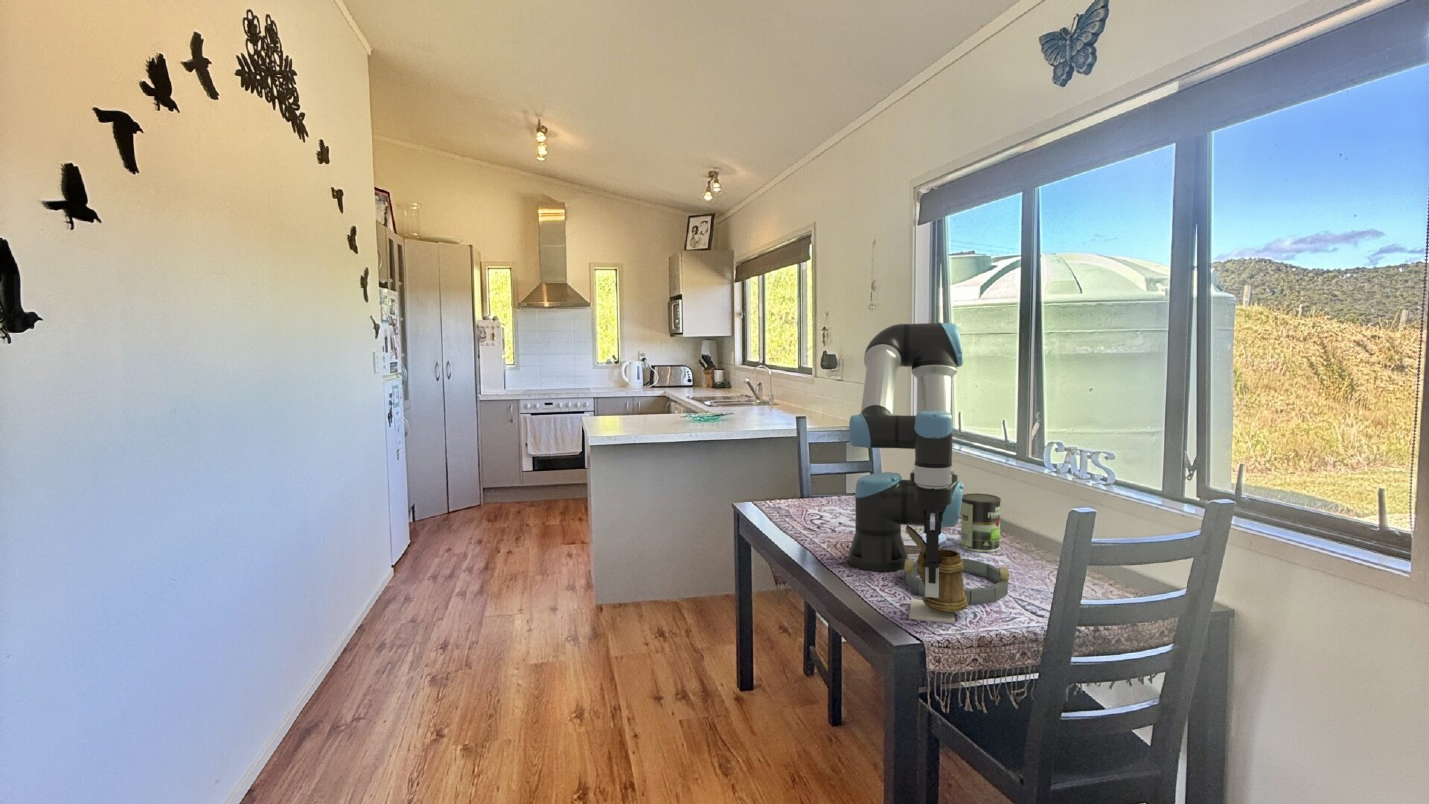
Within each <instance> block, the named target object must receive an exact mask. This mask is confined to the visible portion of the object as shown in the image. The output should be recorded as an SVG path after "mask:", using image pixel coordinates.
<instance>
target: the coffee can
mask: <svg viewBox="0 0 1429 804" xmlns="http://www.w3.org/2000/svg"><path fill="white" fill-rule="evenodd" d="M1001 501H1002V498H1001V497H1000V496H997V495H993V494H989V493H976V492H975V493H966V494H963V496H962V503H961V510H960V516H961V517H960V547H961V548H963V549H964V550H967V551H971V552H975V553H993V552H998V551H999V550H1000V549H1001V548H1000V546H1001V545H1000V544H1001V543H1000V533H1001V532H1000V531H1001Z"/></svg>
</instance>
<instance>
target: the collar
mask: <svg viewBox="0 0 1429 804" xmlns="http://www.w3.org/2000/svg"><path fill="white" fill-rule="evenodd" d="M961 560H962V563H963V569H962V573H964V572H965V573H969V574H972V575H977V576H980V577H984V578H987V579H988V580H990V581H992V582H994V584H993V585H991V586H984V587H977V588H964V592H965V596H966V599H967V604H968V605H977V603H979V604H985V603H986V604H987V603H994V602H995V601H996V602H997V601H998V600H1001V599H1003V598H1005V596H1007V595H1009V594H1008V593H1009V581H1010V573H1009V569H1008V567H1007V566H998V568H997V567H996V566H994V565H993V564H990V563H987V562H982V561H979V560H973V559H970V558H964V557H961ZM904 572H905V586H906V587H908V589H910V590H912V591H913V592H914V593H916V594H917V595H919V596H923V597H924V592H925V585H924V583H923V582H922V580H921V578H920V577H917V576H919V574H918V571H917V560H915V561H914V559H909V558H908V559H906V560H905V567H904Z"/></svg>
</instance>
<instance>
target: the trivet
mask: <svg viewBox="0 0 1429 804" xmlns="http://www.w3.org/2000/svg"><path fill="white" fill-rule="evenodd" d="M909 606H910V607H909V615H908V617H909V620H919V621H929V622H937V623H947V624H955V619H956V617H955V612H943V611H938V610H934V609H932V608H929V607H928V606H927V605H925V603H924V602H923V599H915V598H911V600H910V605H909Z"/></svg>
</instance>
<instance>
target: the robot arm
mask: <svg viewBox="0 0 1429 804" xmlns="http://www.w3.org/2000/svg"><path fill="white" fill-rule="evenodd" d="M863 364H864V366H865V368H866V371H865V378H864V385H863V391H862V392H863V393H862V400H861V401H862V402H861V408H860V413H859V414H853V415H851V416H850V418H849V423H848V424H849V426H848V436H849V437H848V438H849V443H850V445H851V446H852V447H855V448H856V447H857V448H866V449H908V450H909V449H911V450H914V459H915V460H914V465H913V466H914V468H913V470H911V471H910V473H909V474H910V476H909V479H903V477H902V475H901V473H897V472H876V473H869V474H867V475H863V476H861V477H859V478H858V479H857V480H856V482H855V492H854V493H855V494H854V498H855V517H854V518H855V520H854V521H855V522H854V523H855V532H854V536H853V539H852V542H851V545H850V548H849V550H848V562H849V564H851V565H853V566H854V567H856V568H859V569H862V570H866V571H874V572H893V571H898V570H902V569H905V560H906V559H909V555H908V551H907V548H906V545H905V543H904V539H903V536H902V526H907V525H908V526H913V527H915V526H916V527H923V533H924V534H925V542H926V563H925V564H922V567H925V597H933V598H939V563H938V550H939V549H940V544H939V541H940V540H939V538H940V537H939V536H940V535H941V534H942V528H955V526H957V525H958V524H959V521H960V516H961V503H962V496H963V495H964V494H963V493H964V487H965V486H964V484H965V483H964V482H963V481H960V480H958V473H957V472H956V471H955V469H953V468H952V465H953V461H952V460H953V431H954V425H953V424H954V423H953V416H952V378H953V377H954V376H955V375H956V374H957V373H958V368H959V367H962V366H963V364H964V356H963V347H962V338H961V334H960V329H959V327H958V326H957V325H956V324H955V323H951V322H940V321H938V322H931V323H929V322H928V323H927V322H926V323H925V322H924V323H898V324H894V325H890V326H888V327H886V328H884V329H883V330H881V331H880V332H879V333H877V334H876V335H875V336H874V337H873V338H872V339H871V340H870V341H869V343H868V345H867V347H866V349H865V351H864V358H863ZM900 367H904V368H905V367H909V368H910V367H911V368H910V369H911V375H913V376H914V377H915V378H916V379H917V380H916V381H917V383H916V393H917V394H916V415H900V414H899V415H897V414H896V415H894V408H895V407H894V406H895V396H896V395H895V394H896V379H897V371H898V370H899V369H900ZM930 561H931V562H930Z"/></svg>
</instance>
